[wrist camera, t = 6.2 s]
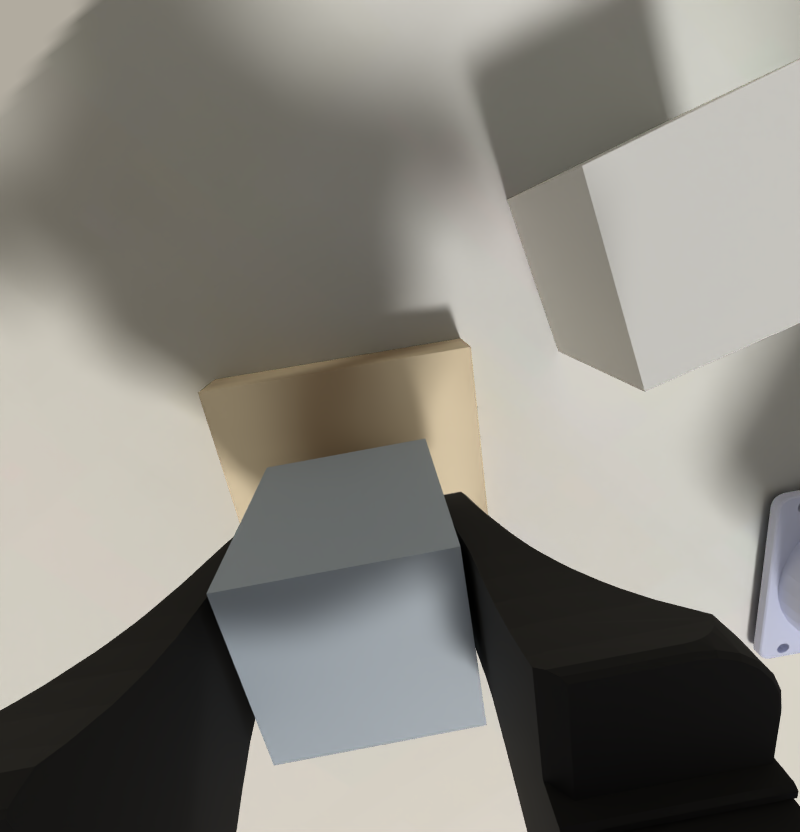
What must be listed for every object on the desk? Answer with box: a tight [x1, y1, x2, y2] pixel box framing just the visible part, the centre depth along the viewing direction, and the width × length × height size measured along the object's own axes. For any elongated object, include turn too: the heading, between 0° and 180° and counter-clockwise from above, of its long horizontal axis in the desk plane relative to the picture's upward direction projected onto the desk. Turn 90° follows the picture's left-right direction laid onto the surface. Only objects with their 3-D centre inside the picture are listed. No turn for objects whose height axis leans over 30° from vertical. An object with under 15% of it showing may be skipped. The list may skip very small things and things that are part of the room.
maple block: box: [198, 338, 488, 523], centre depth 15 cm, size 8×8×2 cm
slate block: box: [206, 439, 486, 765], centre depth 11 cm, size 4×4×5 cm
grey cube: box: [507, 59, 800, 391], centre depth 12 cm, size 5×5×5 cm
